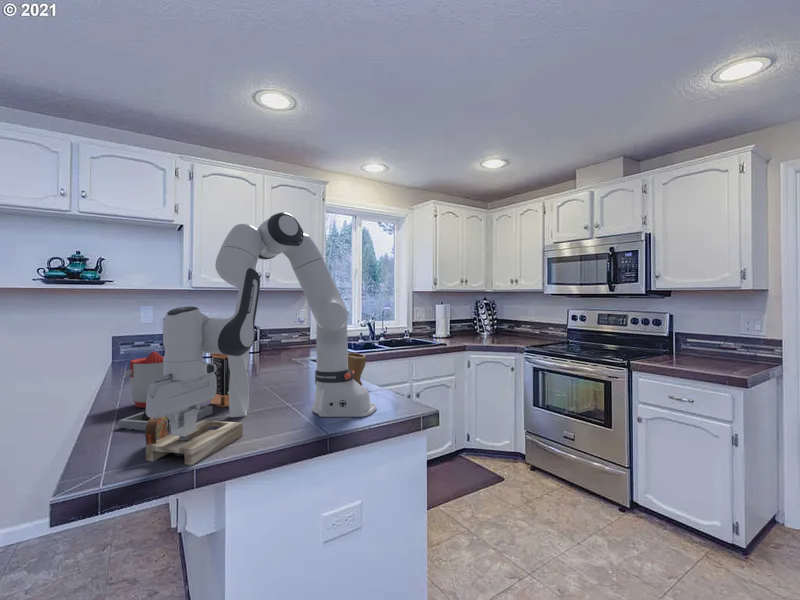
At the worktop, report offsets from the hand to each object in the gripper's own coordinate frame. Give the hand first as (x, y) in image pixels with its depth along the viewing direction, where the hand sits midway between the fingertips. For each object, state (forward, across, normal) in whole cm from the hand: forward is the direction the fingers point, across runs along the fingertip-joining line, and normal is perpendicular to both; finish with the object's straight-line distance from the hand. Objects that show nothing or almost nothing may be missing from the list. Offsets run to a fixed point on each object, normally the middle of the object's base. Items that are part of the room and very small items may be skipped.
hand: (184, 425), depth 100 cm
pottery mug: (+8, +22, +29) cm, 37 cm away
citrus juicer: (+8, +38, +47) cm, 61 cm away
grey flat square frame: (+8, +23, +26) cm, 35 cm away
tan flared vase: (+8, +80, -17) cm, 82 cm away
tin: (+7, +2, +10) cm, 13 cm away
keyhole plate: (+8, +5, 0) cm, 9 cm away
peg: (+7, 0, 0) cm, 7 cm away
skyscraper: (+8, +33, +7) cm, 34 cm away
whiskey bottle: (+8, +46, +20) cm, 51 cm away
